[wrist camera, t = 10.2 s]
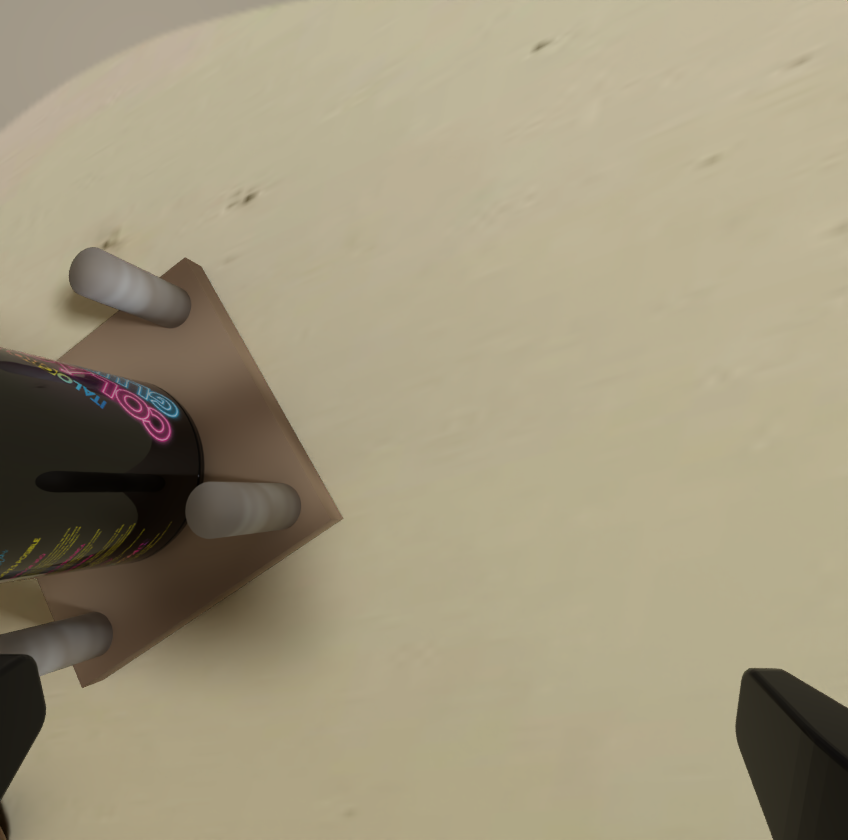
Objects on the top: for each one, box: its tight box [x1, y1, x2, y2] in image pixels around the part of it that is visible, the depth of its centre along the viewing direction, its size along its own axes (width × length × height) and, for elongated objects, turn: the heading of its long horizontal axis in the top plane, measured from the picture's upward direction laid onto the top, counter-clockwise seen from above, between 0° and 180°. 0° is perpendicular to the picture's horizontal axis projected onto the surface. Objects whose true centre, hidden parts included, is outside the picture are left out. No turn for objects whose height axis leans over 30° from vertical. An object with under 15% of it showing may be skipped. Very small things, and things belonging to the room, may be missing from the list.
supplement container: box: [0, 347, 205, 583], centre depth 18 cm, size 7×7×10 cm
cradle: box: [0, 247, 343, 688], centre depth 21 cm, size 12×12×5 cm
